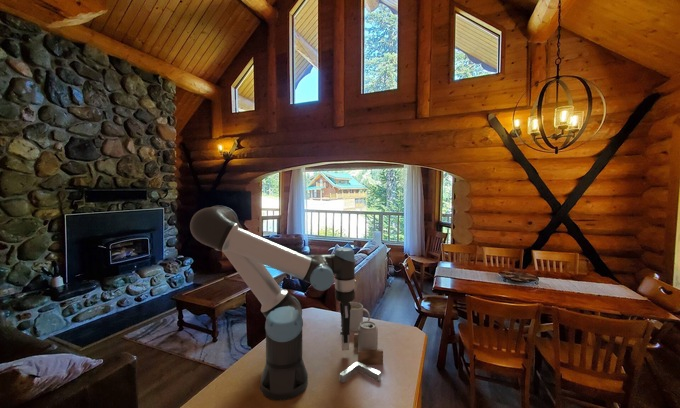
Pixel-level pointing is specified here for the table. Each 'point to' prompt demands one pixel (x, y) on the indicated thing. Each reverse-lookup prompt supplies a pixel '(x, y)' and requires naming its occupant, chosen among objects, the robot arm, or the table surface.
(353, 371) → the v block
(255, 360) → the table surface
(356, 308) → the mug
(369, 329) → the can
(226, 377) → the table surface
